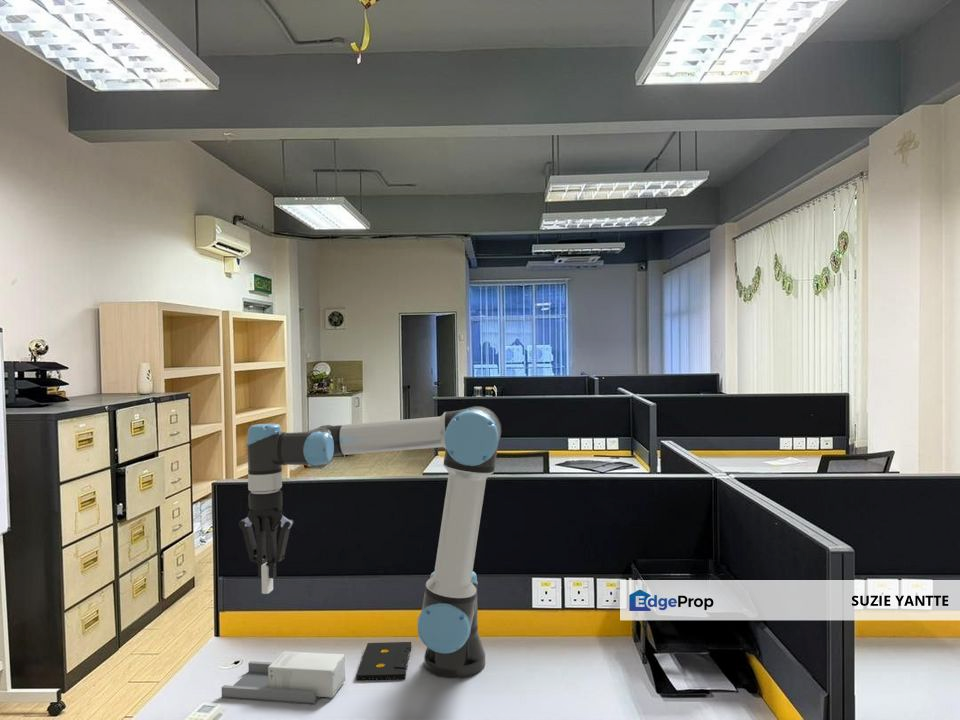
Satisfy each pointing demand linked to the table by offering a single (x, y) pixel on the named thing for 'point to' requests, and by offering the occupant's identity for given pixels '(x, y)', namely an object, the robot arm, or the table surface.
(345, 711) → the table surface
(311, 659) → the skincare box
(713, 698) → the table surface
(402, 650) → the cassette tape
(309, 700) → the rubber tray
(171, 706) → the table surface
